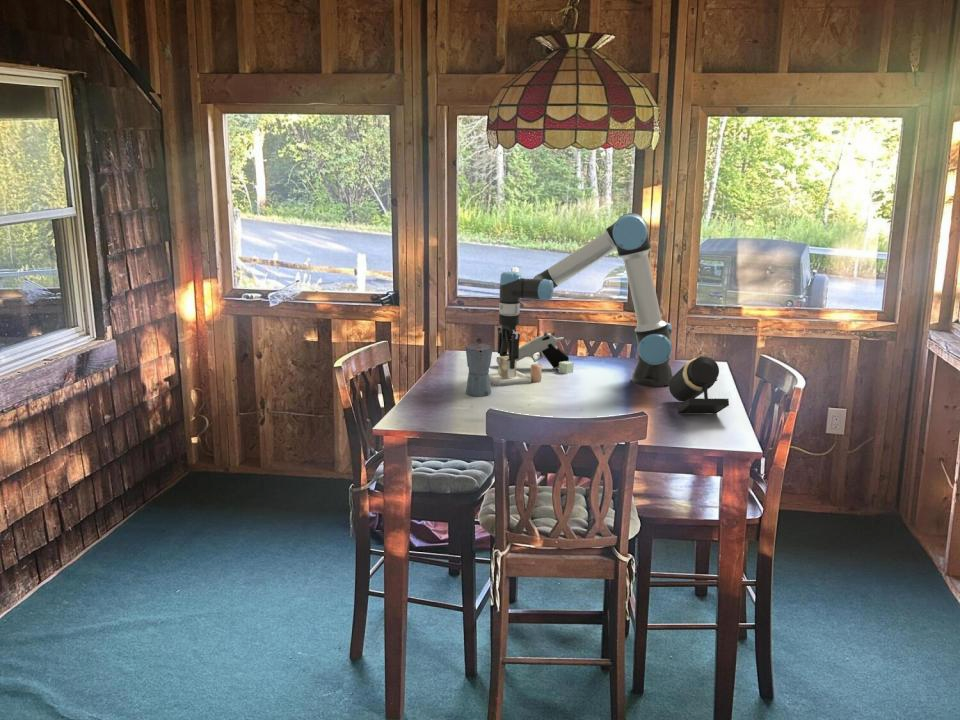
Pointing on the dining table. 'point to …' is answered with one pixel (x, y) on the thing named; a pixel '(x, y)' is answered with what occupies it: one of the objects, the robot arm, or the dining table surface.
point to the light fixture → (697, 386)
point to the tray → (509, 379)
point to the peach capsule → (536, 373)
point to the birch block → (504, 366)
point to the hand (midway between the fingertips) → (507, 375)
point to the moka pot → (478, 368)
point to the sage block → (566, 367)
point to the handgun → (543, 350)
